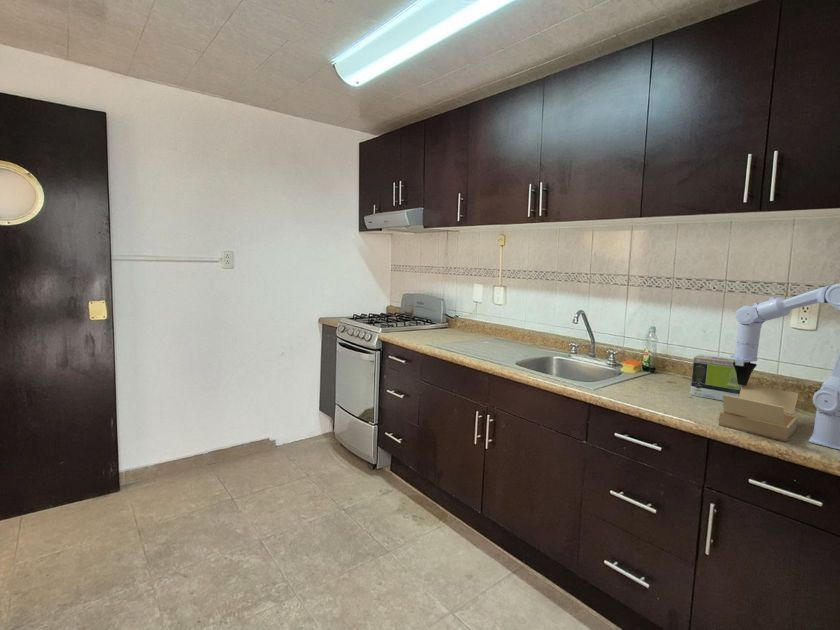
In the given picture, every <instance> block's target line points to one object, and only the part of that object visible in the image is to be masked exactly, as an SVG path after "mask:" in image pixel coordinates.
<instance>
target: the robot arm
mask: <svg viewBox="0 0 840 630" xmlns="http://www.w3.org/2000/svg"><path fill="white" fill-rule="evenodd" d="M768 299H769V300H766V301H765V300H764V301H763V302H754V303H753V305H752V306H750V305H743V306H742V307H740V308H738V309H737V310H736V313H735V319H736V320H737V322H738V327H737V328H738V330H737V336H736V346H735V353H734V354H730V357H729V358H732V359H735V360H736V362H733V366H734V368H735V370H736V375H737V383H738V384H739V385H744V386H746V385H747V384H749V383H748V382H749V380H750V378H751V375H752V373H753V371H754V370H755V368H756V367H757V363H754V362H757V361H758V353H759V344H760V338H761V330H762V327H763V324H764V323H765V322H766V321H771V320H774V319H778V318H782V317H786V316H788V315H789V314H790V312H791V311H792V310H794V309H799V308H803V307H807V306H811V305H812V306H813V305H816V304H819V303H822V304H829V305H830V306H832V307H833V308H835V309H837V310H839V311H840V283H836V284H833V285H827V286H826V285H825V286H823V287H818V288H816V289H813V290H810V291H807V292H804V293H802V294H798V295H796V296H795V295H794V296H793V297H790V298H787V299H785V298H784V297H778V296H772V297H769V298H768ZM812 402H813V406H815V408H816V412H815V419H814V424H813V426H814V427H813V432H812V435H811V436H810V437H809V440H808V443H812V444H815V445H820V446H824V447H826V448H827V447H828V448H830V449H831V448H832V449H835V450H839V451H840V352H839V353H838V356H837V358H836V360H835V363H834V366H833V369H832V371H831V374H830V376H829V377H827V379H826V380H825V381H824V382H823V383H822V384H821V387H820V389H819V390H817V391H816V392H814V394H813V396H812Z"/></svg>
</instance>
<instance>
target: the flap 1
mask: <svg viewBox="0 0 840 630" xmlns="http://www.w3.org/2000/svg"><path fill="white" fill-rule="evenodd" d="M722 402H723V410H724V412H728V413H732V414H736V415H740V416H745V417H749V418H753V419H758V420H762V421H766V422H771V423H775V424H779V425H783V426H784V414H785V413H784V407H783V406H778V405H773V404H768V403H763V402H759V401H754V400H749V399H744V398H739V397H735V396H730V395H725V394H723V401H722Z"/></svg>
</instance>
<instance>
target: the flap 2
mask: <svg viewBox="0 0 840 630" xmlns="http://www.w3.org/2000/svg"><path fill="white" fill-rule="evenodd" d="M799 395H800V394H799V392H795V391H788V390H785V389H784V390H783V389H779V388H773V387H767V386H763V385H762V386H761V385H757V384H752V383H747V385H746V386H744V385H742V387H741V391H740V394H739V398H744V399H749V400H754V401H759V402H763V403H768V404H773V405H778V406H783V407H784V414H786V415H788V414H789V415H791V416H794V414H795V410H796V406H797V401H798V398H799Z"/></svg>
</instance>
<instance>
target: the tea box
mask: <svg viewBox="0 0 840 630" xmlns="http://www.w3.org/2000/svg"><path fill="white" fill-rule="evenodd" d="M733 362H736V360H735V358H732V357H723V356H714V355H705V354H697V355H696V356H694V357H693V362H692V372H691V373H692V374H691V384H690V396H695V397H701V398H705V399H706V398H707V399H711V400H716V401H722V402H723V394H725V395H730V396H735V397H739V394H740V391H741V387H742V385H739V384H738V383H737V375H736V370H735V368H734V366H733Z"/></svg>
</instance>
